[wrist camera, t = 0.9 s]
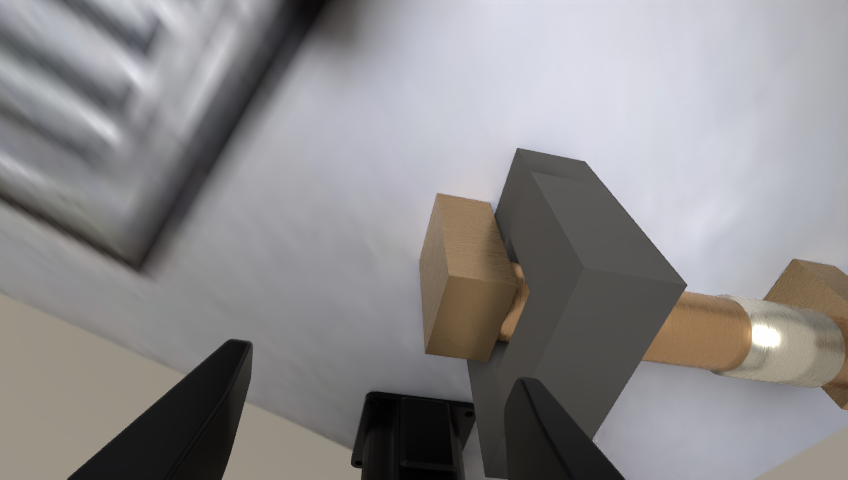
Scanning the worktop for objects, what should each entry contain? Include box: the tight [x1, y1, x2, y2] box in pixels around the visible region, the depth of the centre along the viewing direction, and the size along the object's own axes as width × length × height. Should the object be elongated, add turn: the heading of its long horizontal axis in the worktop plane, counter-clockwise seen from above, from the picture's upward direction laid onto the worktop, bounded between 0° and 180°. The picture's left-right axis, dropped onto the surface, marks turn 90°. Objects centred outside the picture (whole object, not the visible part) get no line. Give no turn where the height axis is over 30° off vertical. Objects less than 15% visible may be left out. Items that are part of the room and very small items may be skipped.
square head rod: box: [419, 193, 848, 410], centre depth 21 cm, size 20×4×6 cm, turn 77°
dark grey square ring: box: [467, 148, 687, 479], centre depth 19 cm, size 3×9×9 cm, turn 168°
